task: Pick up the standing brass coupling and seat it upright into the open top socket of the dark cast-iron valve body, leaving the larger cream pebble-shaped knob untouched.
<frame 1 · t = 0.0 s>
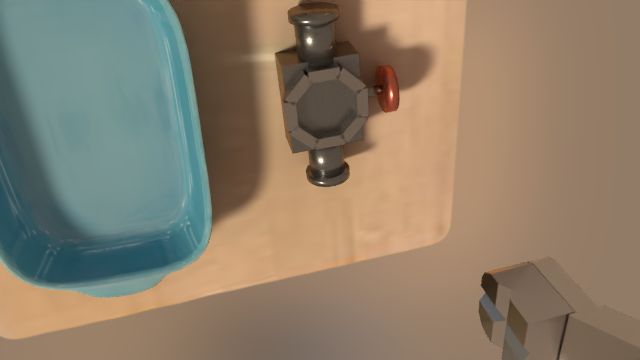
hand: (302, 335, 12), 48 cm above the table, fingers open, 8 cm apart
valve body: (316, 90, 62), on the table
casserole dish: (90, 119, 58), on the table
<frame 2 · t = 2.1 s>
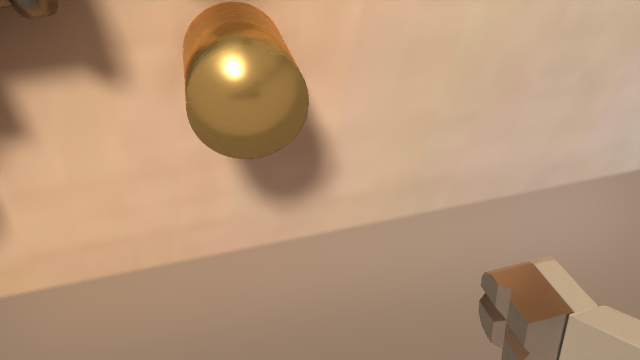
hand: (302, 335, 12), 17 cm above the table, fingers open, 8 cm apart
brass coupling: (233, 52, 26), on the table
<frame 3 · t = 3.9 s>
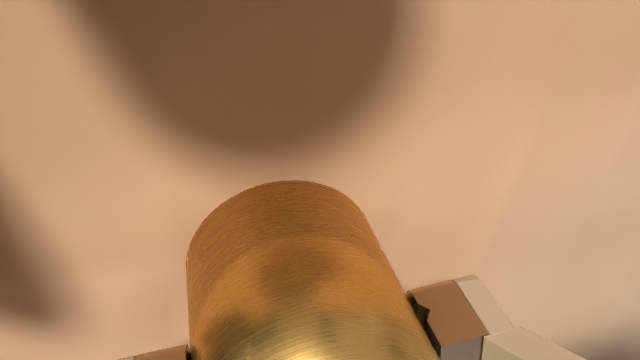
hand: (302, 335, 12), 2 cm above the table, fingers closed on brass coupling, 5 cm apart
brass coupling: (282, 260, 14), on the table, touching gripper
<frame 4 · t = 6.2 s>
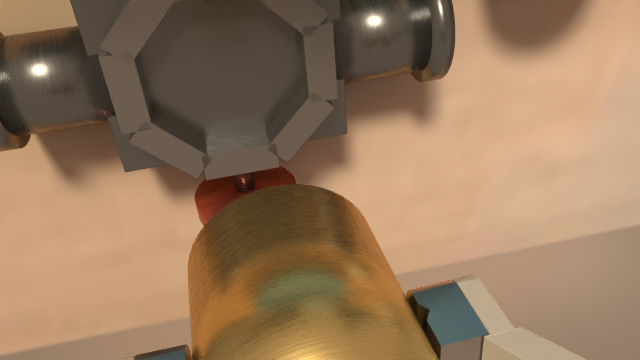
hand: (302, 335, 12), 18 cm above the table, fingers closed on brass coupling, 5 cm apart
valve body: (217, 37, 26), on the table
brass coupling: (283, 264, 14), point 16 cm above the table, touching gripper
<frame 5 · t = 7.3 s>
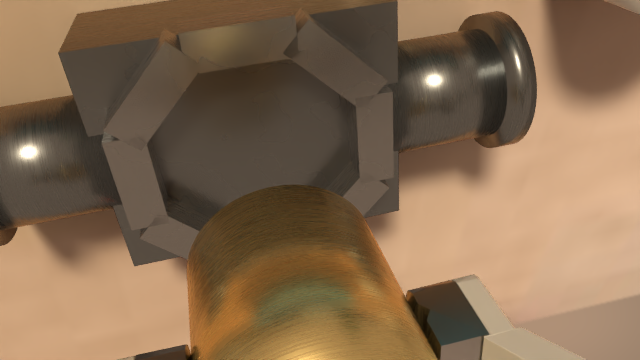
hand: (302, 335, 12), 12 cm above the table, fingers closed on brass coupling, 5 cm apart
valve body: (242, 96, 22), on the table
brass coupling: (282, 264, 14), point 10 cm above the table, touching gripper
when the fingers open (8 cm above the table, at t = 8.4 s): brass coupling drops 2 cm, resting on valve body.
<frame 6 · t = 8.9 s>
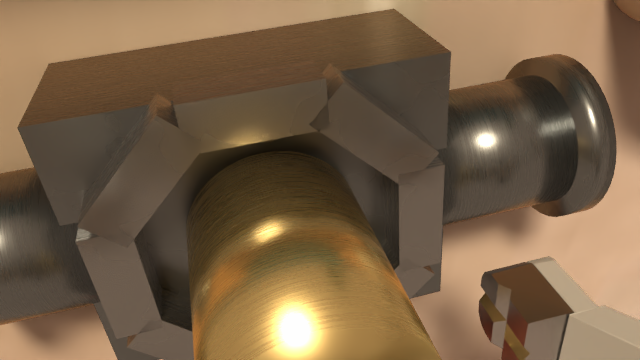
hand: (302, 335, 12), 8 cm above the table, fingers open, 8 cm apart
valve body: (250, 154, 18), on the table
brass coupling: (274, 226, 15), point 4 cm above the table, touching valve body
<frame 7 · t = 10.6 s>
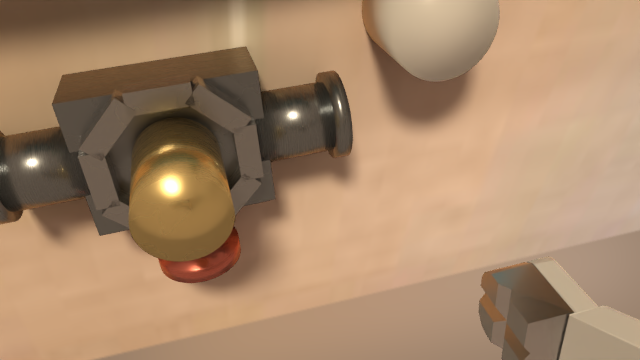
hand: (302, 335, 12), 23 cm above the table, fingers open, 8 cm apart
valve body: (172, 124, 33), on the table
cream pebble-shaped knob: (409, 3, 33), on the table
brass coupling: (177, 157, 30), point 4 cm above the table, touching valve body
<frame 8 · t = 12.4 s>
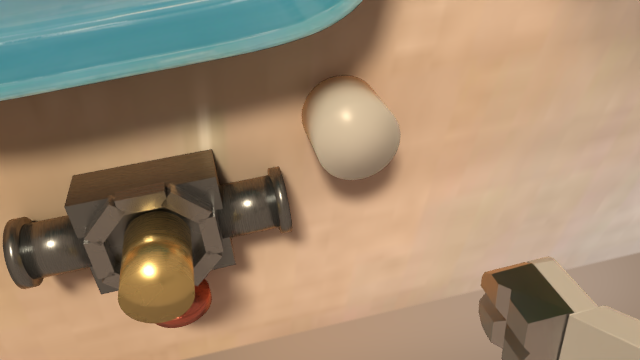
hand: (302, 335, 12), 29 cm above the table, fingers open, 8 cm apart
valve body: (157, 206, 43), on the table
cream pebble-shaped knob: (340, 112, 42), on the table
brass coupling: (157, 238, 40), point 4 cm above the table, touching valve body
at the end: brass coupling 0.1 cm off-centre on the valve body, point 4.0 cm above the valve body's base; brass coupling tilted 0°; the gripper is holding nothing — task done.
